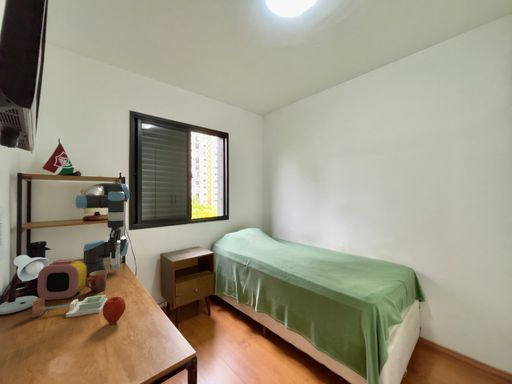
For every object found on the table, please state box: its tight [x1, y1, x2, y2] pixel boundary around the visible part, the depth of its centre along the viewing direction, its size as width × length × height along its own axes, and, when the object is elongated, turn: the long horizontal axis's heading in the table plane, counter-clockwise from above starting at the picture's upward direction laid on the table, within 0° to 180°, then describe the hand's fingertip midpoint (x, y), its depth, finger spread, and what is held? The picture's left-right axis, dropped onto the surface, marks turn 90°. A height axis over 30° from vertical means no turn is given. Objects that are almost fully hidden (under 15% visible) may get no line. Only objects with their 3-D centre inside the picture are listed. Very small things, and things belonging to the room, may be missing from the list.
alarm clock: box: [36, 258, 87, 301], centre depth 118 cm, size 18×11×19 cm, turn 102°
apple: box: [102, 296, 126, 325], centre depth 93 cm, size 9×8×11 cm
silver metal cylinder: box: [109, 240, 121, 271], centre depth 116 cm, size 4×4×15 cm
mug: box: [85, 270, 109, 294], centre depth 123 cm, size 12×9×10 cm
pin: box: [31, 297, 78, 318], centre depth 100 cm, size 4×16×7 cm, turn 111°
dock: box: [65, 294, 108, 318], centre depth 105 cm, size 12×13×4 cm
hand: (114, 262), depth 116 cm, fingers closed on silver metal cylinder, 4 cm apart
